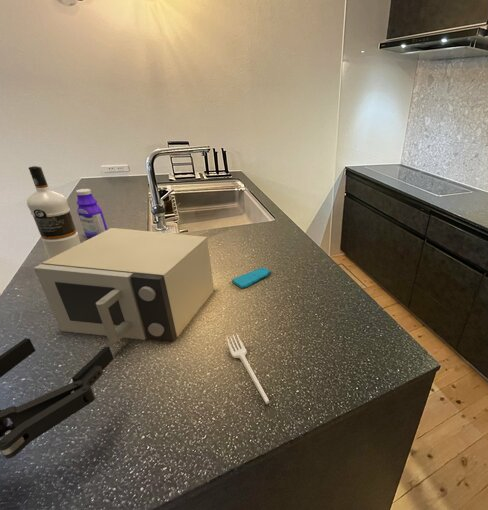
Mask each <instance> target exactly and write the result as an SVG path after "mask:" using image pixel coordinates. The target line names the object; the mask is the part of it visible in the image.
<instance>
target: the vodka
mask: <svg viewBox="0 0 488 510" xmlns="http://www.w3.org/2000/svg"><path fill="white" fill-rule="evenodd" d="M28 170H29V174H30V176H31V179H32V181H33V185H34V186H35V190H36V191H35V192H34V193H32V194H31V195H30V196H29V197H28V198H27V200H26V206H27V208H28V209H29V211H30V215H31V216H32V217H33V219H34V221H35V222H34V223H35V225H36V227H37V230H38V232H39V235H40V240H41V241H42V243H43V246H44V248H45V251H46V255H47V260H49V259H51V258H53V257H55V256H56V255H58V254H60V253H62V252H64V251H66V250H68V249H70V248H72V247H74V246H76V245H78V244H80V243H82V242H81V240H80V237H79V232H78V231H77V229H76V225H75V223H74V219H73V217H72V214H71V209H70V207H69V203H68V199H67V198H66V197H65V196H64V195H63V194H62V193H60V192H59V193H58V192H56V191H53V190H50V188H49V185H48V182H47V179H46V176H45V173H44V171H43V167H41V166H40V165H38V166H37V165H33V166H28Z"/></svg>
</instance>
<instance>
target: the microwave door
mask: <svg viewBox="0 0 488 510" xmlns="http://www.w3.org/2000/svg"><path fill="white" fill-rule="evenodd" d="M33 270H34V272H35V274H36V277H37V280H38V282H39V284H40V286H41V289H42V291H43V293H44V295H45V297H46V300H47V302H48V304H49V307H50V309H51V311H52V313H53V316H54V318H55V320H56V323H57V325H58V328H59V330H60V331H61V332H66V333H75V334H83V335H84V334H85V335H93V336H95V335H97V336H106V338H107V340H108V342H109V344H111V345H113V344H116V343H118V342H119V341H120V340H122V338H123V339H133V340H134V339H135V340H142V341H143V340H144V341H145V340H146V339H147V335H146V331H145V328H144V324H143V320H142V317H141V313H140V309H139V306H138V302H137V298H136V295H135V291H134V287H133V284H132V280H131V276H132V275H133V273H125V272H115V271H105V270H94V269H84V268H74V267H64V266H54V265H44V264H42V263H40V264H38V265H36V266H34V267H33Z"/></svg>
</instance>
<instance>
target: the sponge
mask: <svg viewBox="0 0 488 510" xmlns="http://www.w3.org/2000/svg"><path fill="white" fill-rule="evenodd" d="M271 273H272V271H271V270H270V269H267V268H265V267H260V268H258V269H254V270H252V271H249V272H247V273H244V274H241V275H238V276H236V277H234V278H232V279H231V282H232V283H233V284H234V285H236V286H237V287H239V288H240V289H247V288H249V287H251V286H252V285H253V284H256V283H257V282H259V281H261V280H263V279H265V278H267V277H268V276H270V275H271Z"/></svg>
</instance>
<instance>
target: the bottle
mask: <svg viewBox="0 0 488 510" xmlns="http://www.w3.org/2000/svg"><path fill="white" fill-rule="evenodd" d="M75 193H76V197H77V201H76V205H77V206H78V207H77V210H76V212H77V214H78V215H77V216H78V218H79V221H80V225H81V227H82V230H83V232H84V235H85V236H86V237H87V238H89V239H90V238H92V237H94V236H96V235H98V234H100V233H102V232H104V231H106V230H108V226H107V224H106V219H105V217H104V216H105V215H104V212H103V210H102V207H100V206H99V205H98V201H97V200H96V198H95V197H94V195H93V193H92V190H91V189H90V188H80V189H76V190H75Z"/></svg>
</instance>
